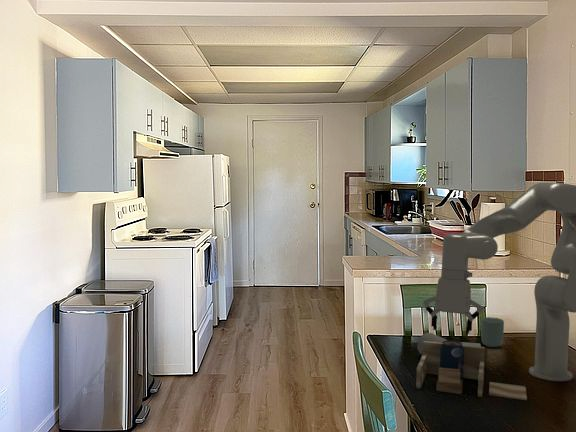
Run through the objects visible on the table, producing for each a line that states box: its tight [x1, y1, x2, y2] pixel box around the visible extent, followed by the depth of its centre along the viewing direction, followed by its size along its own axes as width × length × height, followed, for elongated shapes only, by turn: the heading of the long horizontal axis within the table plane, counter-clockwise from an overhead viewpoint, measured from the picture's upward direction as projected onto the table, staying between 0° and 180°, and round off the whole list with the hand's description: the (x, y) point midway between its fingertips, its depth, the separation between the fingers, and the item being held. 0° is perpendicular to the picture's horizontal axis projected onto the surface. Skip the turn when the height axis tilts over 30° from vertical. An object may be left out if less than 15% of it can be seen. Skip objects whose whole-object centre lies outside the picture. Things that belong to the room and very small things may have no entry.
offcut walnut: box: [435, 378, 464, 395], centre depth 170 cm, size 4×7×3 cm, turn 69°
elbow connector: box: [416, 332, 482, 356], centre depth 195 cm, size 18×11×20 cm
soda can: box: [440, 339, 464, 381], centre depth 177 cm, size 7×7×12 cm
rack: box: [415, 341, 486, 398], centre depth 175 cm, size 16×18×10 cm
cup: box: [480, 316, 505, 348], centre depth 217 cm, size 8×8×10 cm
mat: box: [488, 381, 528, 401], centre depth 169 cm, size 10×10×1 cm
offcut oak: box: [437, 368, 460, 384], centre depth 170 cm, size 4×6×3 cm, turn 76°
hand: (451, 331), depth 176 cm, fingers open, 9 cm apart
